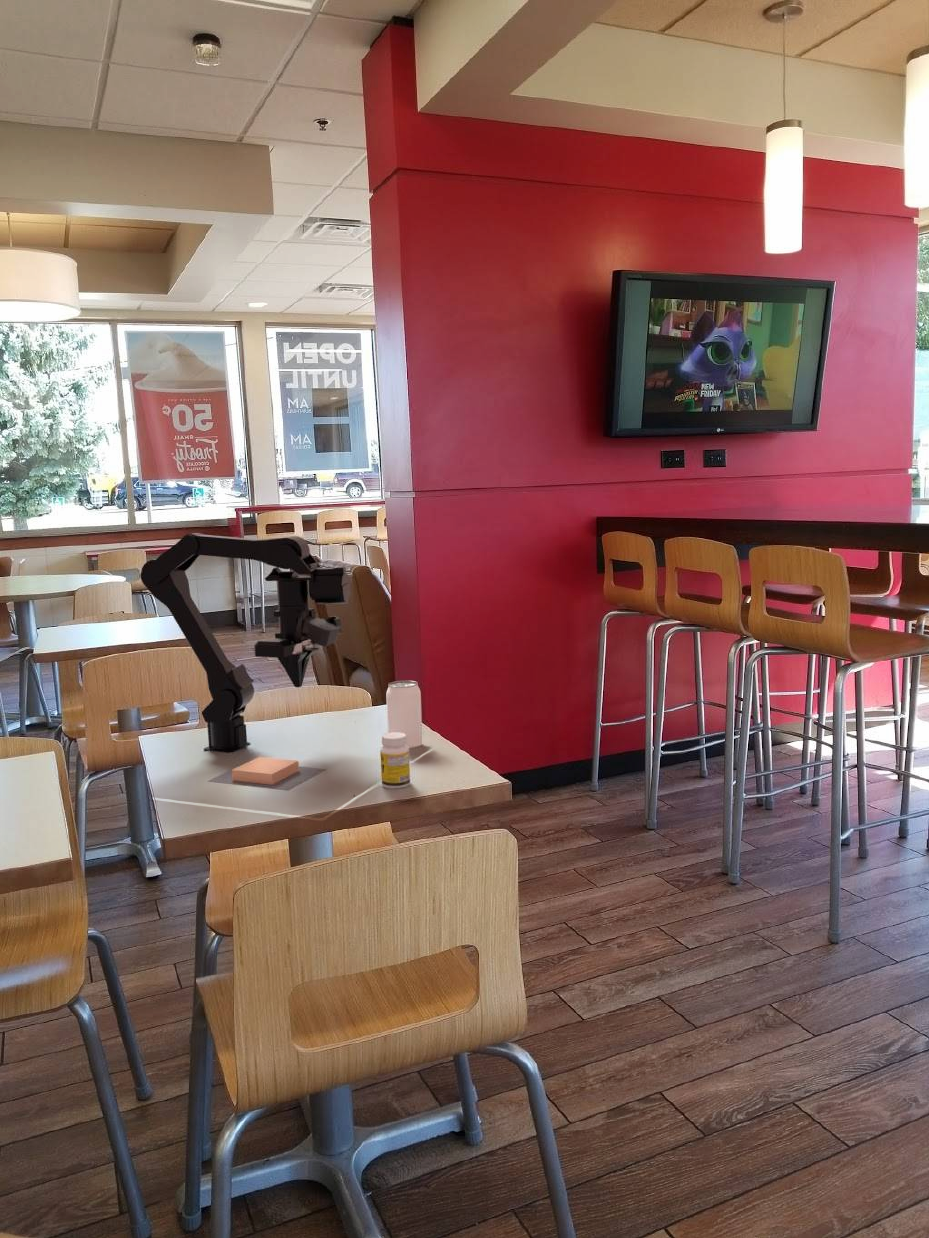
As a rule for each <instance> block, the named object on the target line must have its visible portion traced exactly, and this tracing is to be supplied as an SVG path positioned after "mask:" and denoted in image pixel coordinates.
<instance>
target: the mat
mask: <svg viewBox="0 0 929 1238" xmlns="http://www.w3.org/2000/svg"><path fill="white" fill-rule="evenodd" d="M250 761H251V760H250ZM250 761H247V762H245V763H244V764H246V763H248V762H250ZM239 766H240V765H238V766H237V767H239ZM237 767H234V768H232V769H230V770H228V771H226V772H223V773H221V774H219V775H217V776H215V777H213V778H211V779H209V780H208V782H212V783H219V784H220V783H221V784H228V785H234V786H235V785H236V786H247V787H256V788H265V789H272V790H281V791H290V790H292V789H294V788H295V787H297V786H299V785H301V784H303V783H304V782H306V781H308V780H309V779H312V778H313V777H315V776H317V775H319V774H320V773H322V772H323V773H324V772H325V771H326V770H327V768H319V767H311V766H310V767H309V766H300V765H299V771H298V772H296V773H294V774H292V775H290V776H288V777H286V778H285V779H283V780H281V781H279V782H277V783H275V784H273V785H270V784H261V783H252V782H243V781H234V780H232V770H233V769H235V768H237Z"/></svg>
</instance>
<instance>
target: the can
mask: <svg viewBox="0 0 929 1238" xmlns="http://www.w3.org/2000/svg"><path fill="white" fill-rule="evenodd" d="M418 684H419V682H417V681H414V680H397V681H392V682H390V683H388V688H387V690H386V692H385V693H386V696H385V698H386V718H387V719H386V720H387V733H392V732H399V733H404V734H406V740H407V742H406V744H405V745H407V746H408V748H409V749H411V748H417V747H420V746H422V744H423V727H422V726H423V724H422V722H423V721H422V694H421V690H420V687H419V685H418Z"/></svg>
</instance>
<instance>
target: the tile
mask: <svg viewBox="0 0 929 1238" xmlns="http://www.w3.org/2000/svg"><path fill="white" fill-rule="evenodd" d="M247 762H248V763H247ZM247 762H245V763H246V764H245V763H243V764H240V765H238V766H239V767H238V766H237V768H236V767H234V768H235V769H234V768H232V769H233V770H232V769H231V770H232V780H234V781H243V782H252V783H261V784H270V785H273V784H275V783H277V782H279V781H281V780H283V779H285V778H286V777H288V776H290V775H292V774H294V773H296V772H298V771H299V766H300V765H299V760H293V759H286V758H285V759H284V758H274V757H273V758H272V757H264V756H258V757H257V758H254V759H252V760H250V762H249V761H247Z"/></svg>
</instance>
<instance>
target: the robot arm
mask: <svg viewBox="0 0 929 1238" xmlns="http://www.w3.org/2000/svg"><path fill="white" fill-rule="evenodd" d="M200 556H208V557H219V558H231V559H240V560H241V559H242V560H243V559H244V560H253V561H257V562H259V563H263V564H266V565H268V566H271V567H274V568H272V570H271V572H269V574H268V575H267V576H266V577H265V578H264V579H265V581H266V582H276V589H277V606H278V607H277V608H278V609H277V610H274V611H273V618H274V617H275V618H278V626H279V627H278V628H279V632H274V637H273V638H271V637H268V638H265V639H260V640H258V641H257V642H256V643H255V644H254V646H253V647H254V649H253V650H254V657H257V658H276V659H278V661H279V662H280V665H281V666H282V667H283V669H284V671H285V672H286V674H287V675H288V678H289V679H290V681H291V683H292V684H293V687H294V688H301V687H302V686H303V683H304V678H305V676H306V672H307V667H308V664H309V661H310V658H311V657H312V656H313V655H314V654H315V653H317V652H318V651H319V649H320V647H313V646H314V645H313V642H314V643H316V644H317V645H318V646H322V647H328V646H330V645H335V644H336V642H337V639H338V636H339V635H341V634H342V633H343V630H342V622H341V618H340V617H338V616H336V615H331V616H328V617H327V619H326V618H319V617H317V612H316V610H315V608H312V607H311V608H310V598H311V600H312V601H314V602H315V603H316V604H317V605H330V604H331V605H336V604H337V605H339V604H340V605H341V604H347V605H348V604H349V602H350V597H351V583H350V582H349V581H350V580H349V577H348V574H347V568H346V566H336V567H322V566H321V565H320V564H319V562H318V561H317V560H316V558H315V557H314V556H313V555H312V554H311V551H310V547H309V544H308V543H307V541H306V540H305V539H304V538H303V537H301V536H298V535H294V536H293V535H290V536H282V537H272V538H264V539H263V538H261V539H257V538H246V537H236V536H235V537H234V536H223V535H210V534H203V533H200V532H196V533H195V532H193V533H186V534H185V535H183V536H182V537H181V539H180V540H178V542H176V543H174V545H172V546H171V547H170V548H168V549H167V550H165V551H164V552H163V553H162V554H160V555H159V556H158V557H157V558H154V559H150V560H148V561H146V562H145V563H144V564H143V566H142V567H141V570H140V575H139V577H140V580H141V582H142V584H143V585H144V587H145V588H146V589H147V590H148V591H149V593H150V594H151V595H152V596H153V597H154V598H155V599H157V601H159V602H160V603H161V604H163V605H164V607H166V608H167V609H168V610H169V612H170V614H171V616H172V617H173V619H174V621H175V622H176V624H177V625H178V627H179V630H181V632H182V634H183V636H184V638H185V639H186V641H187V643H188V644H189V646H190V648H191V649H192V651H193V652H194V654H195V656H196V657H197V660H198V661H199V663H200V664H201V667H202V668H203V670H204V671H205V674H206V681H207V687H208V691H209V693H210V696H211V698H212V700H211V701H210V702H209V704H207V706H206V707H204V709H203V710H202V711H201V715H202V717H203V720H204V722H205V723H207V724H206V725H207V737H208V738H207V739H208V741H207V742H208V746H206V747H204V748H203V752H208V751H209V752H217V753H227V754H229V753H234V752H236V751H238V750H241V749H243V748H246V747H248V746H250V745H251V742H249V741H248V736H247V735H248V734H247V725H246V724H245V716H244V715H241V714H242V713H244V712H245V711H246V708H247V704H249V703H251V701H252V699H253V698H254V693H255V687H254V685H253V683H255V680H254V679H253V678H252V677H250V675H249V673H248V672H247V671H248V670H247V669H246V666H245V664H243V663H242V664H240V665H237V666H236V665H235V664H233V663H232V662H230V660H229V659H228V658H227V656H226V654H225V653H224V650H223V649H222V648H221V645H220V644H219V642H218V641H217V638H216V637H215V635H214V634H213V632H212V630H211V629H210V627H209V625H208V623H207V622H206V620H205V618H204V617H203V615H202V614H201V612H200V610H199V608H198V607H197V605H196V603H195V601H194V600H193V598H192V596H191V591H190V583H189V578H188V577H187V573H186V572H187V570H189V569H190V568H191V567H192V566H193V565H194V563H195V562H196V561H197V560H198V558H199V557H200ZM282 569H283V570H282ZM284 570H285V571H284ZM287 570H290V571H287ZM305 575H306V576H305Z"/></svg>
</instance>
